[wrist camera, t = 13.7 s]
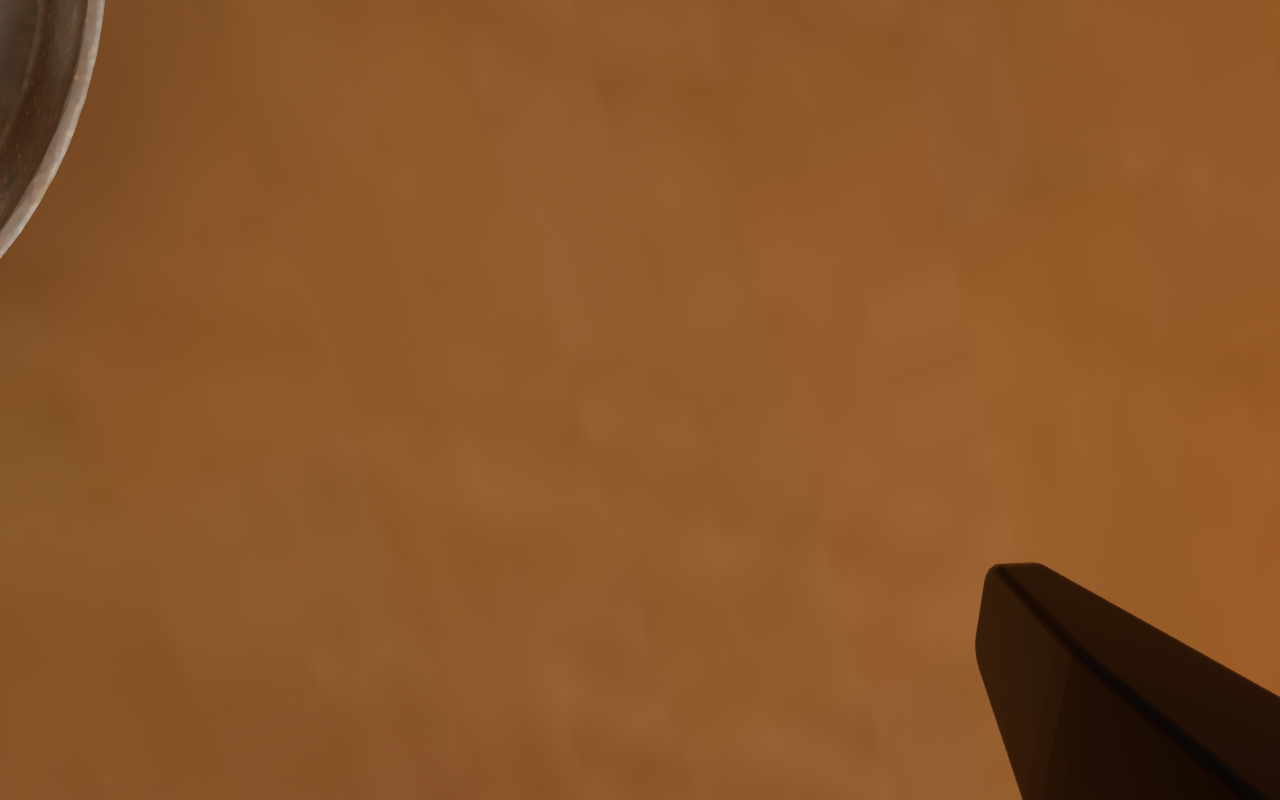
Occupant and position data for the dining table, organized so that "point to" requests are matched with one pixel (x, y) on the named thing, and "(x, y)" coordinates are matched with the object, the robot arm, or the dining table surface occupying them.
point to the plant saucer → (40, 96)
